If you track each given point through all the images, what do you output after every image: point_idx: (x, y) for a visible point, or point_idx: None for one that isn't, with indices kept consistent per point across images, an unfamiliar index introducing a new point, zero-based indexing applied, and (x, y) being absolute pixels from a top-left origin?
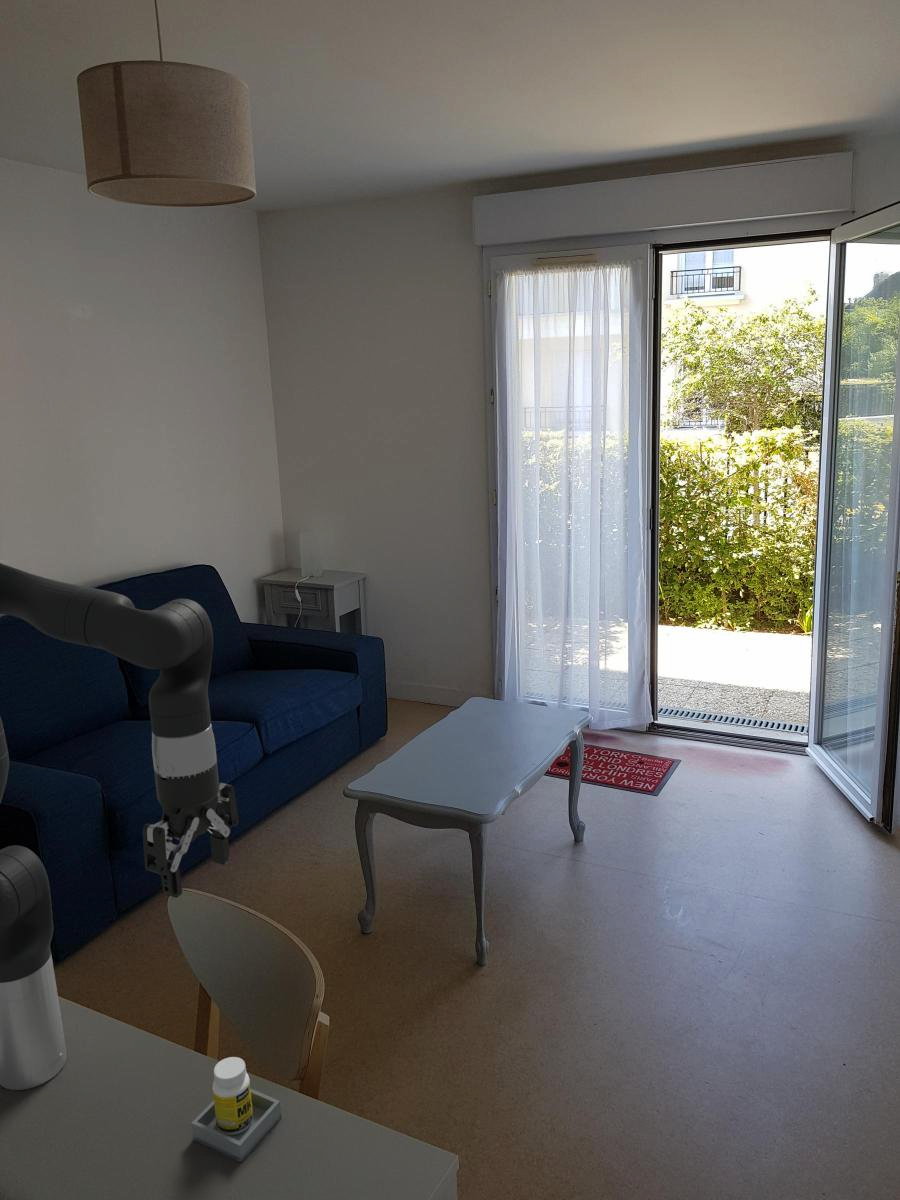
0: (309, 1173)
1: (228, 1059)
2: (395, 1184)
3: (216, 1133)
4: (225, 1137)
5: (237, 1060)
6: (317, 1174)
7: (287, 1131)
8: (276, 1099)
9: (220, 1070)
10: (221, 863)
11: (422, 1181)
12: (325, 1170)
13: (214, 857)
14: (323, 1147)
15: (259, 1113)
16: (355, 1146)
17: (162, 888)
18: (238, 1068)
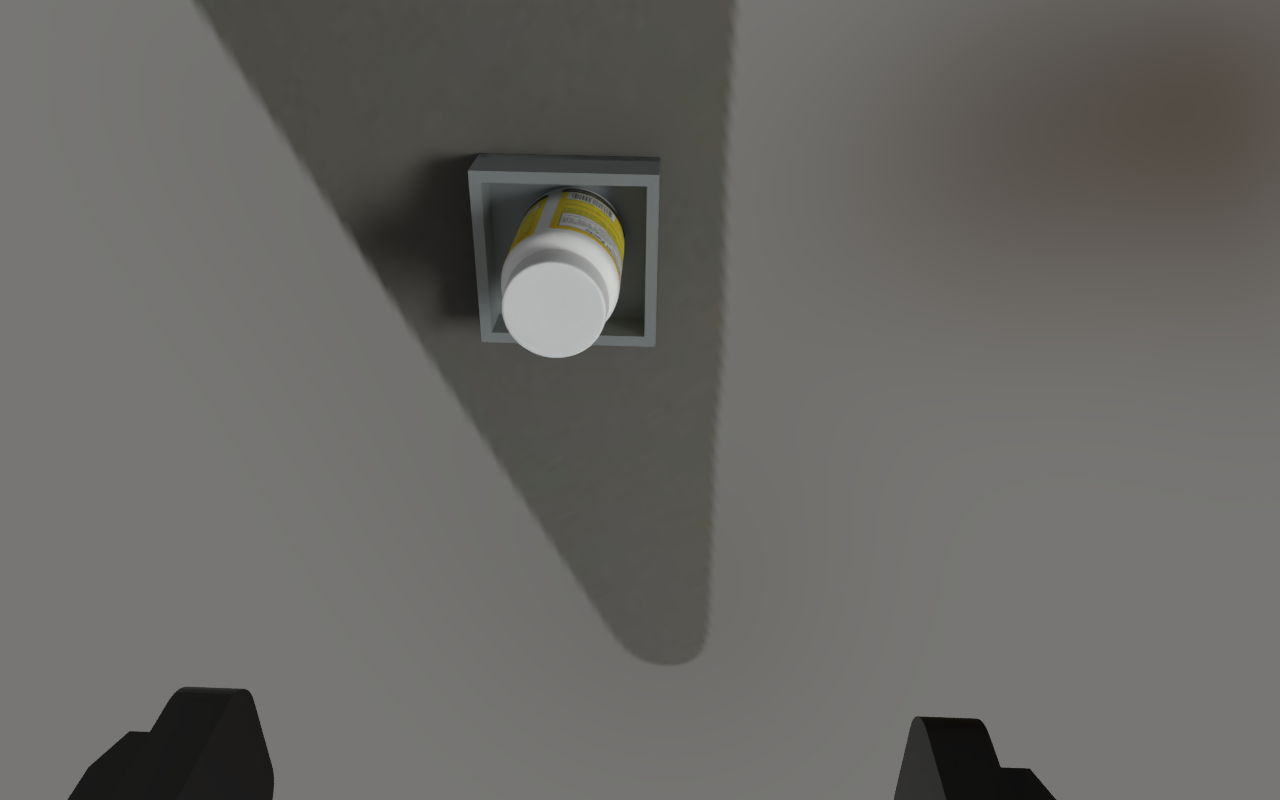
0: (549, 465)
1: (580, 286)
2: (613, 612)
3: (478, 262)
4: (482, 291)
5: (591, 315)
6: (556, 480)
7: (625, 359)
8: (655, 334)
9: (529, 293)
10: (898, 797)
11: (643, 647)
12: (573, 489)
13: (926, 775)
14: (624, 455)
15: (629, 276)
16: (660, 511)
17: (78, 784)
18: (564, 340)
